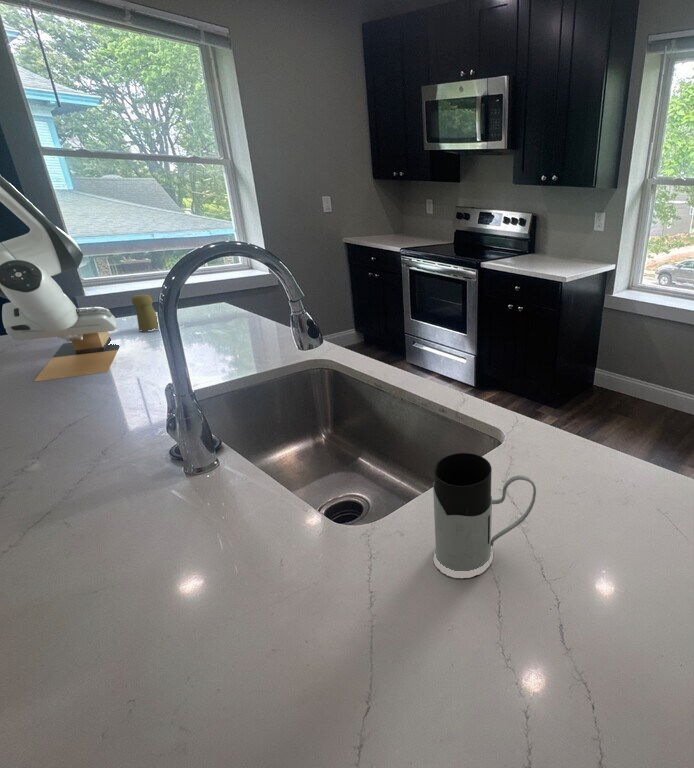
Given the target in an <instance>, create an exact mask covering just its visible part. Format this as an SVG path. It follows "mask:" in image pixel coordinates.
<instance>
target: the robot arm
mask: <svg viewBox="0 0 694 768" xmlns="http://www.w3.org/2000/svg"><path fill="white" fill-rule="evenodd" d="M0 203H1V204H3V205H4V206H5V207H6V208H7V209H8V210H9V211H10V212H12V214H14V215H15V216H16V217H17V218H18V219H19V220H20V221H22V222H23V223H24V224H25V225H26V226H27V227H28V228H29V231H28V232H27V233H25V234H23V235H19V236H17V237H16V236H15V237H14V238H10V239H7V240H4V241H2V242H1V241H0V298H3V299H5V300H9V302H6V303H3V304H2V308H1V309H2V310H1V319H2V324H3V328H4V329H5V332H6V334H7V336H9V337H10V338H11V339H12V340H14V341H28V340H40V339H47V338H59V339H64V340H66V341H67V342H72V341H77V340H83V334H89V333H99V332H108V333H109V332H114V331H116V330H117V329H118V322H117V318H116V317H115V316H114V314H112V312H111V310H109V308H104V307H101V306H89V307H88V306H87V307H77V306H76V305H75V304H74V302H73V301H72V300H71V299H70V298H69V297H68V295H66V293H64V292H63V289H62V287H61V286H60V285H59V284H58V283H57V282H56V281H55V280H54V279H53V277H54V276H56V275H58V274H59V275H60V274H63V273H68V272H70V271H74V270H77V269H79V267H80V266H81V263H82V261H83V257H84V253H83V251H82V249H81V248H80V245H78V243H77V242H76V241H75V240H74V239H73V238H72V237H71V236H70V235H68V234H67V233H66V232H64V231H63V230H62V229H60V228H59V227H58V226H56V225H55V224H53V222H51V220H49V219H48V218H47V217H46V216H45V215H44V214H43V212H41V211H40V210H39V209H38V208H37V207H36V206H35V205H33V203H32V202H30V201H29V199H27V198H26V197H25V196H24V195H23V194H22V193H21V192H20V191H19V190H18V189H16V187H15V186H13V185H12V184H11V183H10V182H9V181H8V180H6V179H5V177H3V176H2V175H1V174H0Z"/></svg>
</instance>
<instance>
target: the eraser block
mask: <svg viewBox="0 0 694 768" xmlns="http://www.w3.org/2000/svg"><path fill="white" fill-rule="evenodd" d="M110 341H111V336H110V333H109V332H99V333H89V334H83V340H77V341H71V343H72V344H73V346H74V349H75V352H76V354H83V353H92V352H100V351H105V349H106V348H107V346H108V344H109V343H110Z"/></svg>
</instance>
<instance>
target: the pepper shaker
mask: <svg viewBox="0 0 694 768" xmlns="http://www.w3.org/2000/svg"><path fill="white" fill-rule="evenodd" d="M131 304H132V305H133V306H134V307H135V313H136V319H137V325H138V331H139V330H142V331H148V330H152V329H154V328H155V329H158V322H157V317H158V315H157V312H156V311H155V309H154V306H153V304H154V300H153V298H152V296H151V295H150V294H145V293H144V294H143V293H142V294H135V295H133V296H132V297H131ZM156 315H157V316H156Z"/></svg>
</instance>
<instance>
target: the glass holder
mask: <svg viewBox="0 0 694 768" xmlns="http://www.w3.org/2000/svg"><path fill="white" fill-rule="evenodd" d="M492 471H493V470H492V465H491V462H490V461H489V460H487V459H486V458H485V457H483V456H482V455H479V454H476V453H471V452H458V453H452V454H448V455H446V456H444V457H442V458H441V459H439V460H438V461H437V462H436V464H435V465H434V468H433V480H434V481H433V482H432V489H433V490H432V492H433V493H432V494H433V517H434V518H433V519H434V540H435V541H434V542H435V548H436V549H435V548H434V550H435V554H436V558H437V560H438V561H439V562H440V564H442V565H443V566H445V567H446V568H449V569H451V570H454V571H470V570H474V569H477V568H479V567H481V566H483V565H484V564H485V563H486V562H487V561H488V560H489V558H490V556H491V552H492V549H491V546H492V548H493V547H494V543H495V542H496V541H497V540H498V539H500V538H501V537H503V536H504V535H505V534H507V533H509V532H511V531H512V530H513V529H515V528H517V526H519V525H520V524H522V523H523V522H524V521H525V520H526V519H527V518H528V516H529V515H530V513H531V511H532V510H533V507H534V504H535V502H536V498H537V497H536V496H537V487H536V483H535V482H534V480H533V479H532V478H530V477H529V476H526V475H523V474H521V475H519V474H517V475H515V476H512V477H510V478H508V479H507V480H506V481H505V483H504V486H503V489H502V496H501V497H500V498H498V499H493V498H492V474H493V473H492ZM521 480H522V481H525V482H528V483H529V484H530V485H531V486H532V489H533V490H532V491H533V493H532V498H531V501H530V503H529V506H528V507H527V508H526V510H525V512H524V513H523V514H522V515H521V516H520V517H519V518H518V519H517V520H515V521H514V522H513V523H512V524H510V525H508V526H507V527H505V528H504V529H502V530H501V531H499V532H497V533H496V534H494V535H493V537H492V524H493V522H492V519H493V505H500V504H502V503H503V502H504V501H505V500H506V496H507V495H506V494H507V490H508V487H509V486H510V485H511V484H512V483H514V482H515V481H521Z"/></svg>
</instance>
